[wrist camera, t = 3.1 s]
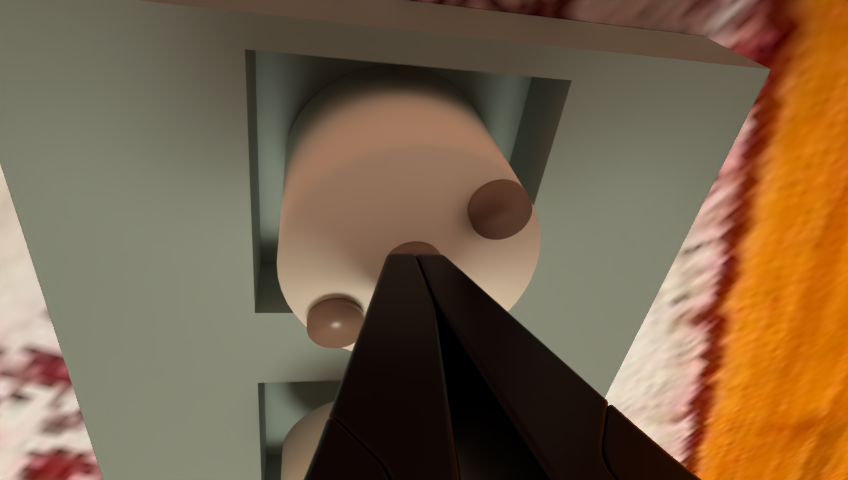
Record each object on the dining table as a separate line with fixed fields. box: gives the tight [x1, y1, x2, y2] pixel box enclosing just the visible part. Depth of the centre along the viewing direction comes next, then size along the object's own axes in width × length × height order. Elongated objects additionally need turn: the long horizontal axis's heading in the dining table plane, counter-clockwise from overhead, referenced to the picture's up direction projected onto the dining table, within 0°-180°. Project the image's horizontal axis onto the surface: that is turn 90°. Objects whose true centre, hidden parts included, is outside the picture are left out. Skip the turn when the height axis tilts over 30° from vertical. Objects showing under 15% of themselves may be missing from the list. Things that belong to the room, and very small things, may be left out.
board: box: [0, 0, 771, 480], centre depth 14 cm, size 12×20×2 cm, turn 172°
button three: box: [277, 65, 541, 351], centre depth 9 cm, size 4×4×3 cm
